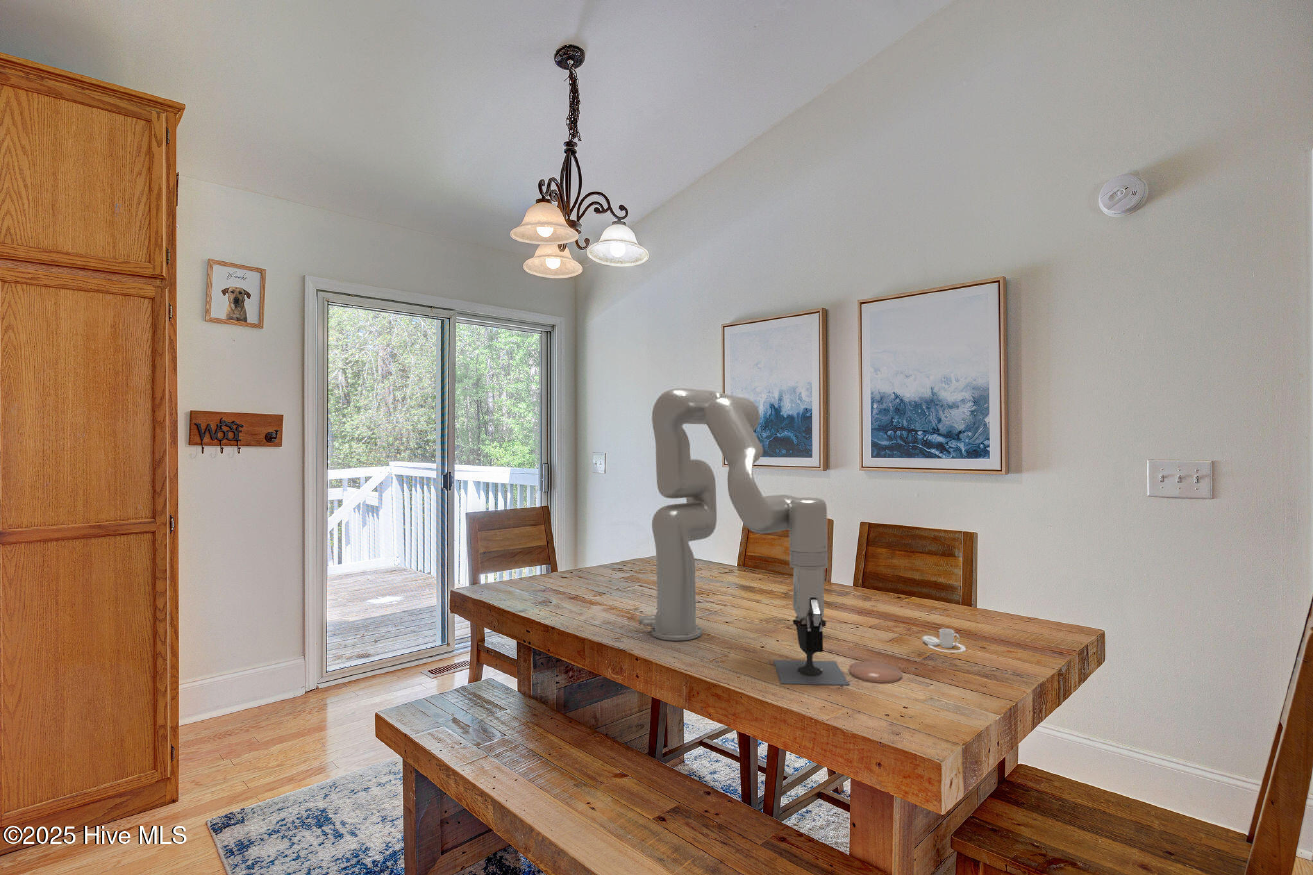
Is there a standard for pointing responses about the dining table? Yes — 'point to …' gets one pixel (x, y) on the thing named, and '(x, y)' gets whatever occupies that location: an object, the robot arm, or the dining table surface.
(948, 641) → the teacup and saucer
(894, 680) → the coaster
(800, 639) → the sundae
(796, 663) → the card
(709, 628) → the dining table surface
